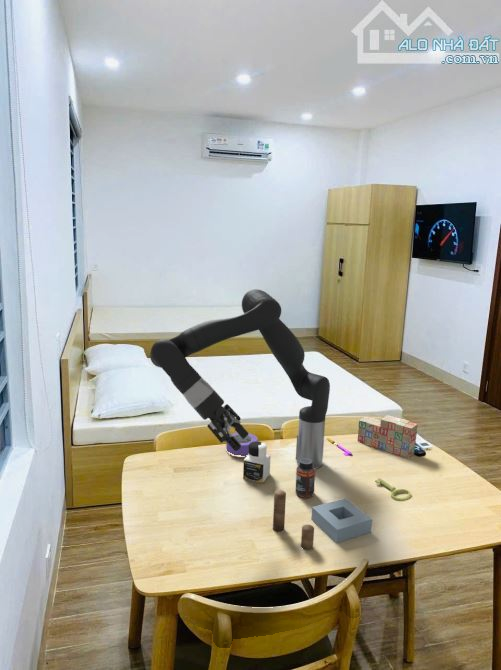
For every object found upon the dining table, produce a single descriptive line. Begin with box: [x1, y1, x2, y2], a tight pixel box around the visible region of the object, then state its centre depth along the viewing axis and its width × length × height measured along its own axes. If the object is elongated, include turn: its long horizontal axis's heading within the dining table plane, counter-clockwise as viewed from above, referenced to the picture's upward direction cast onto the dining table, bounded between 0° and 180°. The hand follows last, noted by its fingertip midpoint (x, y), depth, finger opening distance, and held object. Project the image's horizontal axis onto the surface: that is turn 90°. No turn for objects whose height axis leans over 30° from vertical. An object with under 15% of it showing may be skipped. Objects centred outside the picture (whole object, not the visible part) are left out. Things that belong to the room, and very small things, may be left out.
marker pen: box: [326, 437, 353, 457], centre depth 192 cm, size 3×1×16 cm
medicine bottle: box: [242, 440, 271, 484], centre depth 167 cm, size 7×7×12 cm
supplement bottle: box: [295, 458, 316, 498], centre depth 157 cm, size 6×6×11 cm
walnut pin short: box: [300, 524, 315, 551], centre depth 131 cm, size 3×3×6 cm
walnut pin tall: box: [272, 489, 287, 533], centre depth 138 cm, size 3×3×11 cm
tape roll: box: [225, 432, 258, 456], centre depth 187 cm, size 12×12×5 cm
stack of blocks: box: [357, 414, 419, 459], centre depth 192 cm, size 21×6×12 cm, turn 49°
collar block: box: [311, 497, 373, 544], centre depth 141 cm, size 12×12×4 cm
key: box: [374, 477, 412, 502], centre depth 160 cm, size 7×12×2 cm, turn 49°
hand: (242, 442), depth 136 cm, fingers open, 8 cm apart
